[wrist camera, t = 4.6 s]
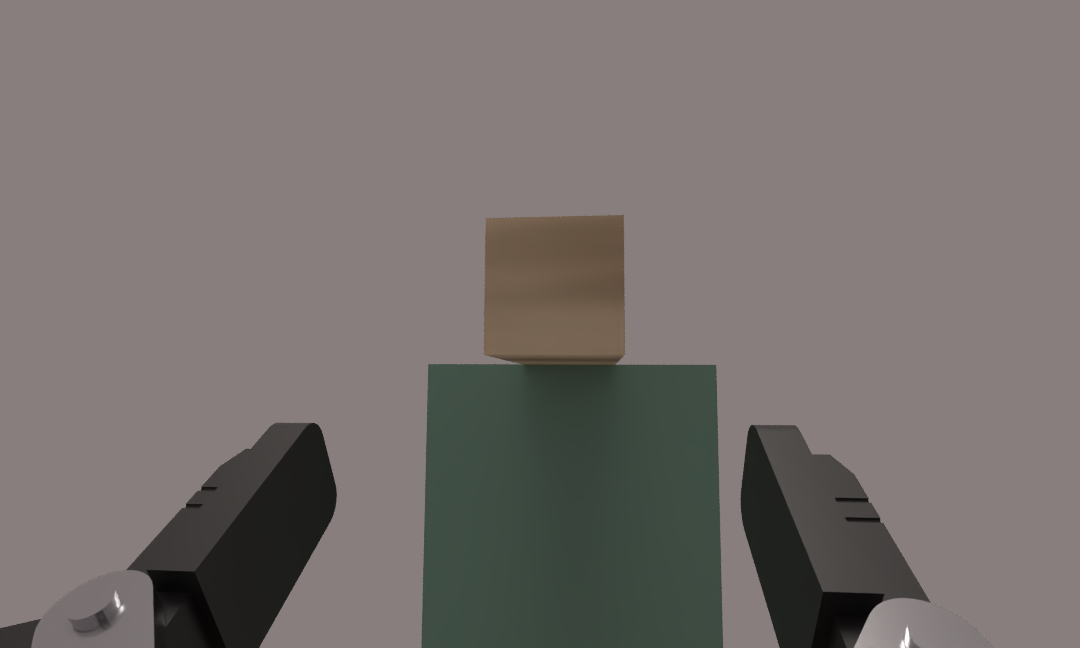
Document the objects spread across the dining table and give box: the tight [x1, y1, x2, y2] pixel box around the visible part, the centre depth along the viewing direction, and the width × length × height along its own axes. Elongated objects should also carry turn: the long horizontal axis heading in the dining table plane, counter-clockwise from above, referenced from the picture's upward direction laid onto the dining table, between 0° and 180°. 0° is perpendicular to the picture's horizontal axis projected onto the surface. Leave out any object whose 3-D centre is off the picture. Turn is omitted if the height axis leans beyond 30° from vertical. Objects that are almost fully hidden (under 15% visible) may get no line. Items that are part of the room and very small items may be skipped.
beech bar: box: [484, 215, 625, 365], centre depth 24 cm, size 19×4×4 cm, turn 175°
